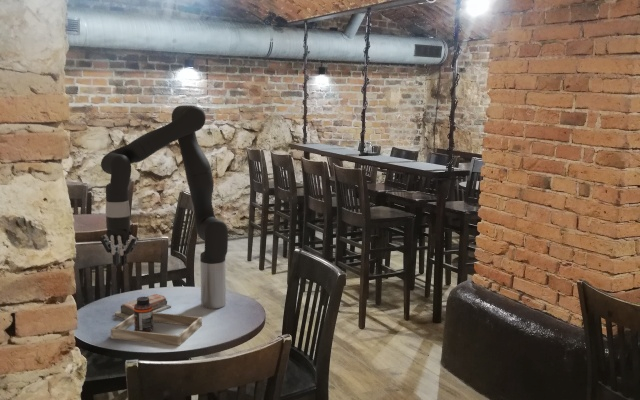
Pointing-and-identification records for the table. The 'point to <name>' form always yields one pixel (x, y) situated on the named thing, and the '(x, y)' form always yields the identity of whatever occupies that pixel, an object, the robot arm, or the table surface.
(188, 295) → the table surface
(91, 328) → the table surface
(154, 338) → the wooden frame
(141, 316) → the supplement bottle
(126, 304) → the packaged product
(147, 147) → the robot arm
